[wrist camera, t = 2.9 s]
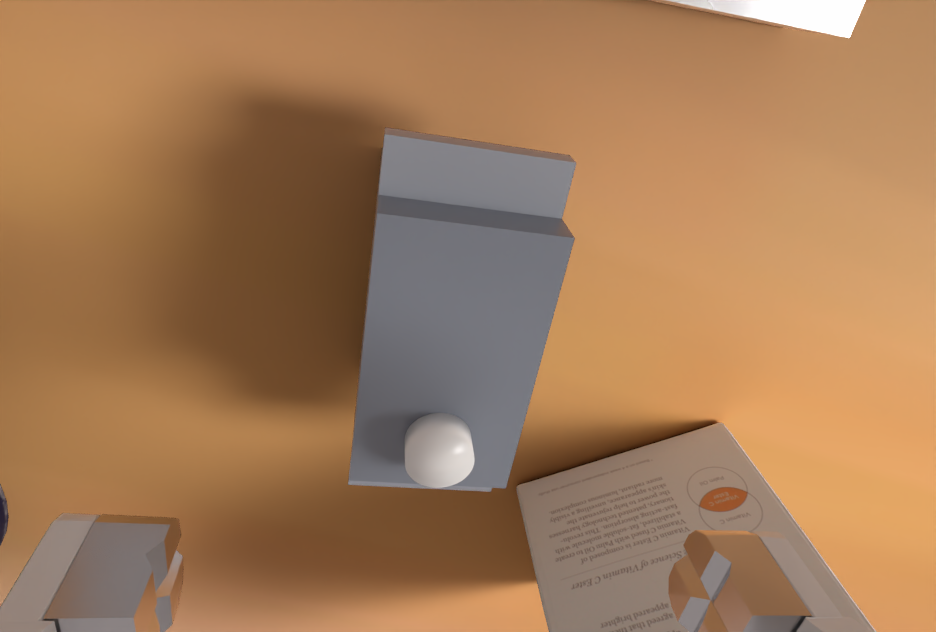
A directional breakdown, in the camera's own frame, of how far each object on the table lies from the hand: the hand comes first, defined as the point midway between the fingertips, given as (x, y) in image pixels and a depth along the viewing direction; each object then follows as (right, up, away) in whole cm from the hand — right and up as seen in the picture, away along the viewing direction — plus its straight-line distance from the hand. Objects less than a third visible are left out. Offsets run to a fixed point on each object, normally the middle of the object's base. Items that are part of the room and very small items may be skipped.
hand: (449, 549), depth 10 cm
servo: (-1, +5, +8) cm, 10 cm away
